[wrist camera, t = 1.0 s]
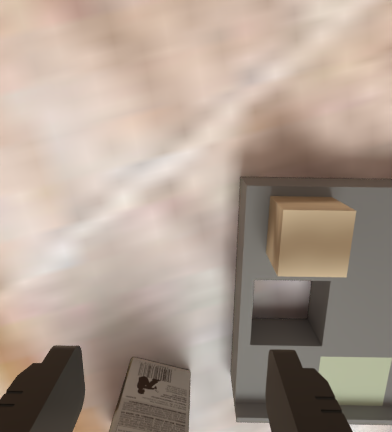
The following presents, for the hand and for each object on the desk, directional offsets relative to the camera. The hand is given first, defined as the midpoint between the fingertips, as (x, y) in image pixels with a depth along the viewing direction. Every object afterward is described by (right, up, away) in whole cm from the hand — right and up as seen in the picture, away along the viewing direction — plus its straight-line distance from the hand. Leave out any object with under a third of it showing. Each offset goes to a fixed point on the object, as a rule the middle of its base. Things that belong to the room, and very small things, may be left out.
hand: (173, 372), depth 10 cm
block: (+8, +4, +15) cm, 18 cm away
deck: (+14, -2, +21) cm, 25 cm away
